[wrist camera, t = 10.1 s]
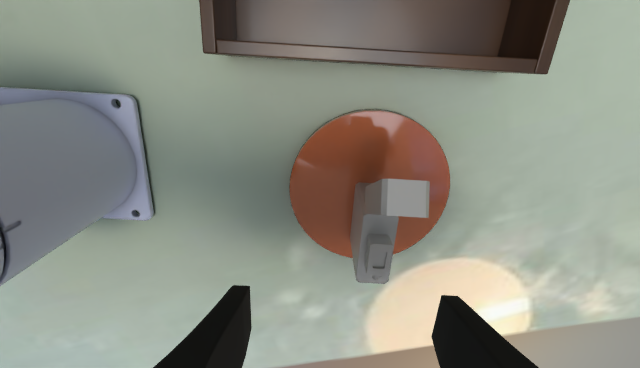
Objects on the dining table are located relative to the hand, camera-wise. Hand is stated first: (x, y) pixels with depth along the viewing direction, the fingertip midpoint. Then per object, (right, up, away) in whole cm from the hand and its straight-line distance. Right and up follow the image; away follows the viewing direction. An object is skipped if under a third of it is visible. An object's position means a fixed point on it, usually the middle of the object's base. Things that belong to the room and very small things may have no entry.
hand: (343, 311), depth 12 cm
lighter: (+2, +4, +8) cm, 9 cm away
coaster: (+2, +5, +8) cm, 10 cm away
